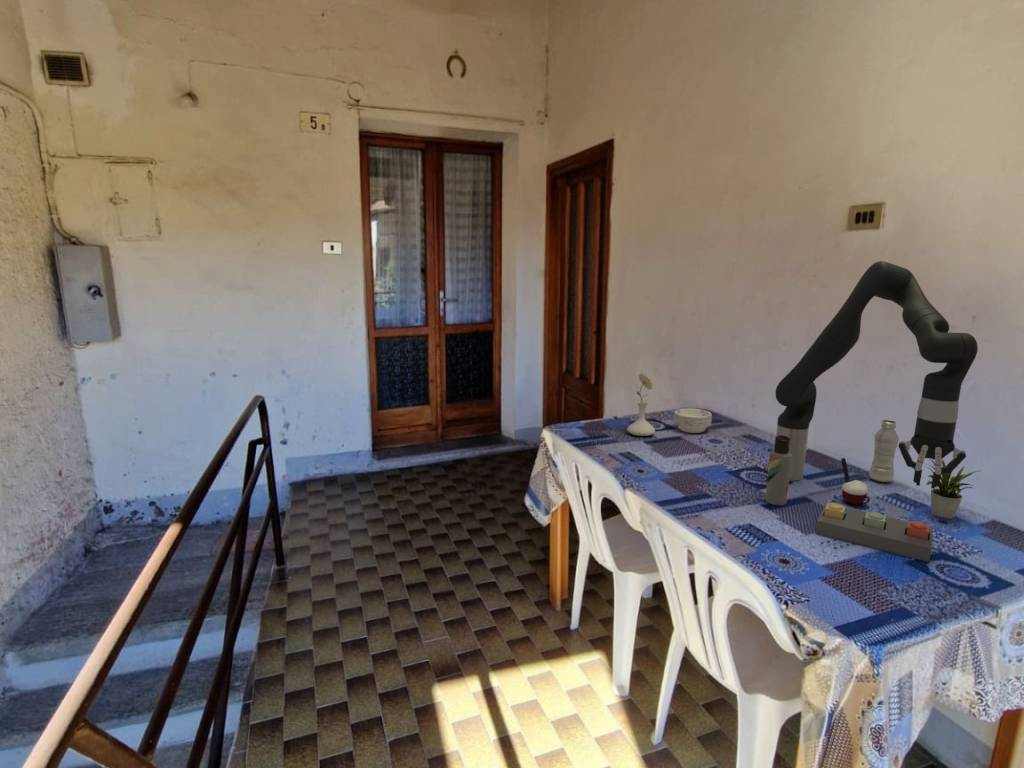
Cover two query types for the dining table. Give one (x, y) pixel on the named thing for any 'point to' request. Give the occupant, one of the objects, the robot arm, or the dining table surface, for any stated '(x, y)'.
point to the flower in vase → (642, 412)
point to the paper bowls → (692, 420)
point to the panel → (875, 534)
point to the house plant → (947, 493)
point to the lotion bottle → (779, 472)
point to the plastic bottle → (884, 452)
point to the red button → (918, 530)
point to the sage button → (875, 520)
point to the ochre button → (835, 511)
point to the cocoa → (853, 489)
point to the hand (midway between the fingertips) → (925, 485)
